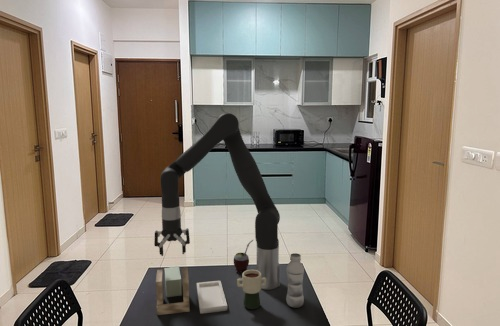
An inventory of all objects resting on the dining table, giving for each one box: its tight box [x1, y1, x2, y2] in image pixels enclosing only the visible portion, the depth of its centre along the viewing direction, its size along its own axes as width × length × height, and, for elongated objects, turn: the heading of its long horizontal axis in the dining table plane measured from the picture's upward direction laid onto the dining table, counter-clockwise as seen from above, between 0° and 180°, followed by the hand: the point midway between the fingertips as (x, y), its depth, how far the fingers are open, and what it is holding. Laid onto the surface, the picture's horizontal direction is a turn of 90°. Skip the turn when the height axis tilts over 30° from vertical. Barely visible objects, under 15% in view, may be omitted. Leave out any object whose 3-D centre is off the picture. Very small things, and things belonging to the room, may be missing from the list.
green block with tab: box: [164, 266, 183, 298], centre depth 150 cm, size 6×17×7 cm, turn 16°
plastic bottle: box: [285, 252, 305, 309], centre depth 134 cm, size 6×7×20 cm
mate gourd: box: [233, 239, 254, 274], centre depth 164 cm, size 8×8×15 cm
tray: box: [196, 280, 228, 314], centre depth 141 cm, size 10×20×2 cm, turn 12°
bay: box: [155, 266, 191, 316], centre depth 135 cm, size 12×12×12 cm
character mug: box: [236, 269, 266, 310], centre depth 134 cm, size 11×7×13 cm, turn 93°
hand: (172, 254), depth 149 cm, fingers open, 8 cm apart
